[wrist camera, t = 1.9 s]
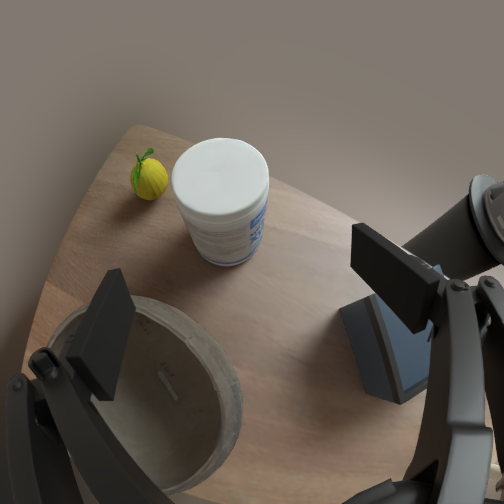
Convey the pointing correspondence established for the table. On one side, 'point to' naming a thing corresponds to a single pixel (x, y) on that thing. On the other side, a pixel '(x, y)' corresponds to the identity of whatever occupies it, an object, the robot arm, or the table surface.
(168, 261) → the table surface
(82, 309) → the bowl
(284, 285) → the table surface
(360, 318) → the blue storage bin
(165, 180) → the lemon
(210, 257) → the supplement tub
